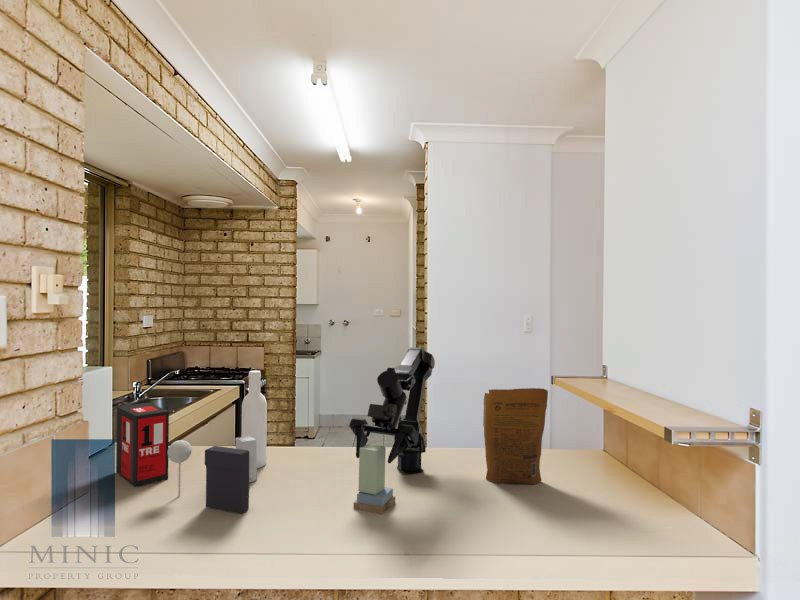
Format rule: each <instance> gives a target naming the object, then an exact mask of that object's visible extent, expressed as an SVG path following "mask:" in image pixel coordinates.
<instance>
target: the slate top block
mask: <svg viewBox="0 0 800 600" xmlns="http://www.w3.org/2000/svg"><path fill="white" fill-rule="evenodd" d="M393 493H394V488H393V487H389V486H385V489H383V490H382V491H380V492H379V493H377V494H376V495H374V494H369V493H365V492H360V491H358V493H356V500H357V503H363V504H369V505H374V506H380V507H383V506H384V505H385V504H386V503H387V502H388V501H389V500H390V499H391V498H392V497H393V496H394V494H393Z"/></svg>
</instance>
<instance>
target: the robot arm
mask: <svg viewBox="0 0 800 600" xmlns="http://www.w3.org/2000/svg"><path fill="white" fill-rule="evenodd" d="M435 361H436V360H435V358H434V355H433V354H432V353H430V352H428V351H426V350H425V348H422V347H409V348H408V349H407V352H406V355H405V356H404V358H403V359H402V361H401V363H400V364H399V365H398V366H394V367H387V369H386V370H384V371H383V372H381V373H380V374H379V375H378V376H377V380H376V381H377V384H378V387H379V389H380V392H381V395H382V397H383V398H384V399H383V402H382V404H377V403H370V404H369V407H368V411H367V417H371V418H372V419H371V422H372V423H374V425H372V424H369V423H368V421H367V420H366V418H359V417H358V418H357V417H353V418H352V419H351V420H350V422H349V423H348V427H349V429H350V430H351V431H352V433H353V435H354V436H355V438H356V444H355V445H356V446H355V457H356V458H357V459H359V453H360V448H361V447H363V446H366V445H367V443H368V442H369V439H368V438H369V436H370V435H371V434H372V433H373V434H379V435H386V436H393V437H394V442H393V444H392V448H391V450H390V452H389V455H388V458H387V463H388V465H389V464H391V463H393V461H394V460H395V459H396V458H397V466H396V469H398V470H399V471H400V472H402V473H403V474H404V475H410V474H411V475H412V474H419V473H423V472H424V469H423V468H422V455H423V453H426V451H427V449H426V446H427V445H426V440H425V437H424V433H423V430H422V428H421V427H422V426H421V425H420V419H421V418H420V417H421V410H422V405H423V397H424V392H425V386H426V381H427V380H428V379H429V378H430V377H431V376H432V373H433V369H434V368H435V363H436V362H435ZM405 391H409V393H408V397H407V394H406V393H405ZM407 399H408V400H407ZM405 405H406V410H405V415H404V418H402V416H401V415H402V412H403V409H404V407H405Z"/></svg>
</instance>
